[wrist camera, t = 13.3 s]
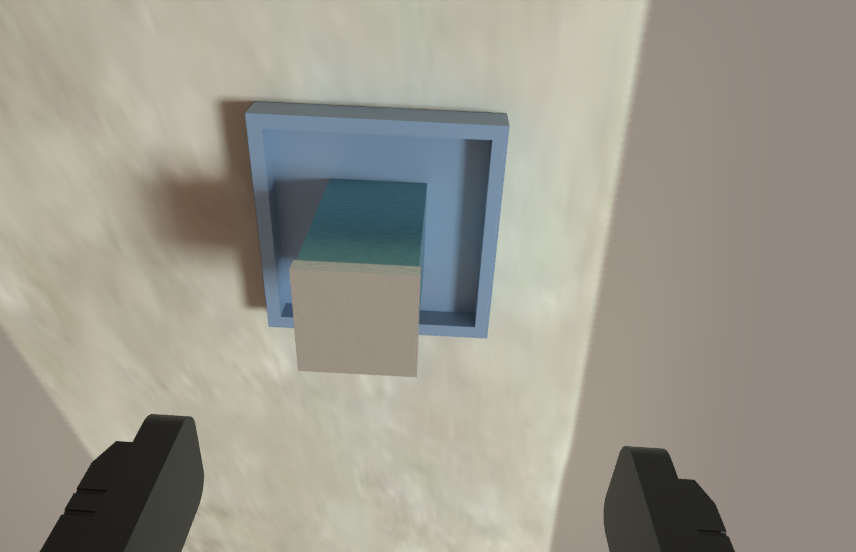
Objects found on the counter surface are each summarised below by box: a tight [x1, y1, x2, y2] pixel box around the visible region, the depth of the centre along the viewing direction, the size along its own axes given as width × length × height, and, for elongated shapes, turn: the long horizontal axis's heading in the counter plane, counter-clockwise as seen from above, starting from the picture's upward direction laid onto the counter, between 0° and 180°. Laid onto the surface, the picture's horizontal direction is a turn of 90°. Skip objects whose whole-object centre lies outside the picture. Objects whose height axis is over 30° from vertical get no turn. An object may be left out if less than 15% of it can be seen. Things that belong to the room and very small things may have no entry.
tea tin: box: [289, 178, 427, 377], centre depth 34 cm, size 6×6×10 cm
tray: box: [245, 101, 509, 338], centre depth 38 cm, size 14×14×2 cm
